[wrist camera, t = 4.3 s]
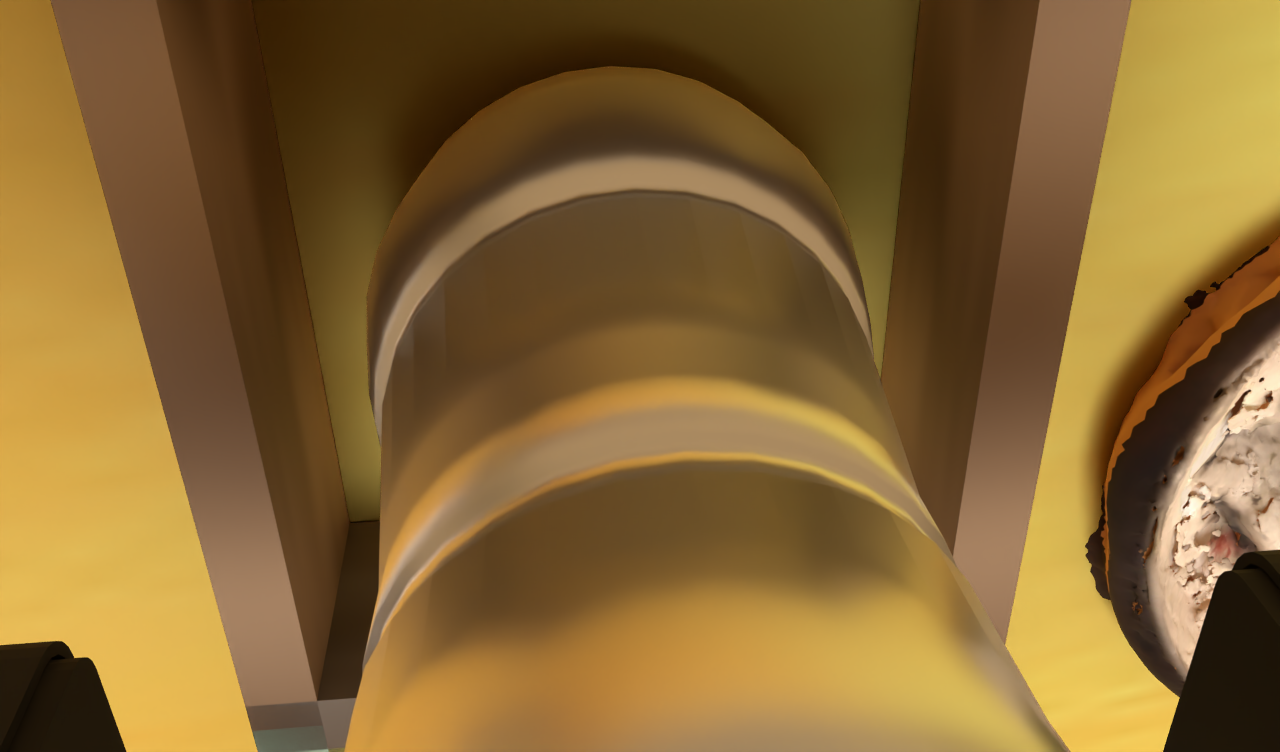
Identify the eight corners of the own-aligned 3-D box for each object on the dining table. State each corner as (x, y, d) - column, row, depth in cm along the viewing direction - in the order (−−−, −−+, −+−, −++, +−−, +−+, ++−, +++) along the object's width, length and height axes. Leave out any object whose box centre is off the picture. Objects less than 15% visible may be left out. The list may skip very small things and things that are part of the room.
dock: (132, -183, 15) (16, -124, 11) (1020, -210, 15) (1163, -163, 12) (383, 947, 27) (364, 1138, 23) (869, 902, 27) (919, 1081, 24)
